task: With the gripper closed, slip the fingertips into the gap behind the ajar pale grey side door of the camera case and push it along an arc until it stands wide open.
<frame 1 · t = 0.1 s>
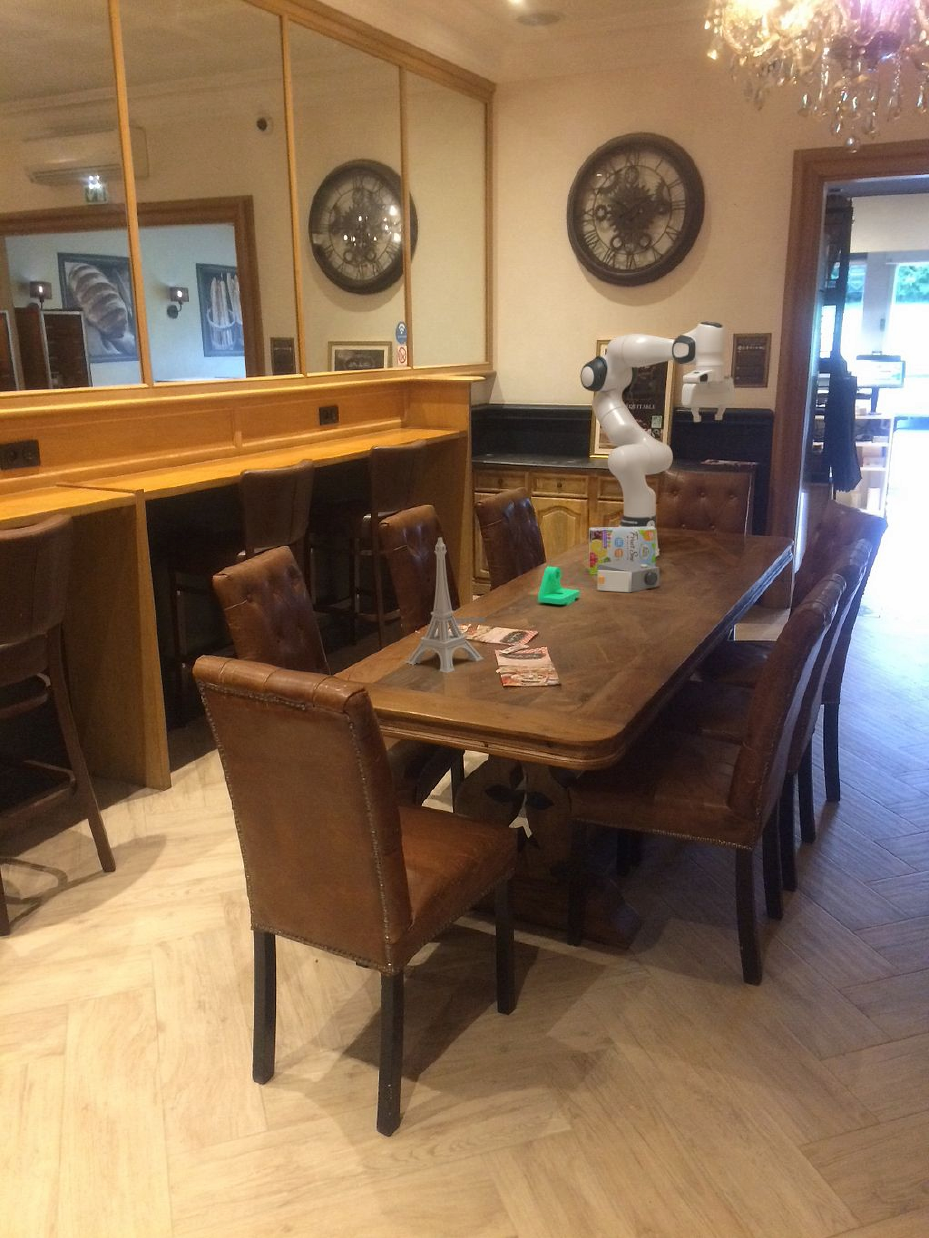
hand: (707, 420, 313), 48 cm above the table, tool pointing down, fingers open, 8 cm apart
snack box: (621, 573, 323), on the table
eiffel tower: (444, 662, 237), on the table
camera case: (627, 584, 307), on the table
camera mount: (559, 602, 289), on the table
side door: (614, 581, 298), point 3 cm above the table, hinge at 35.0°
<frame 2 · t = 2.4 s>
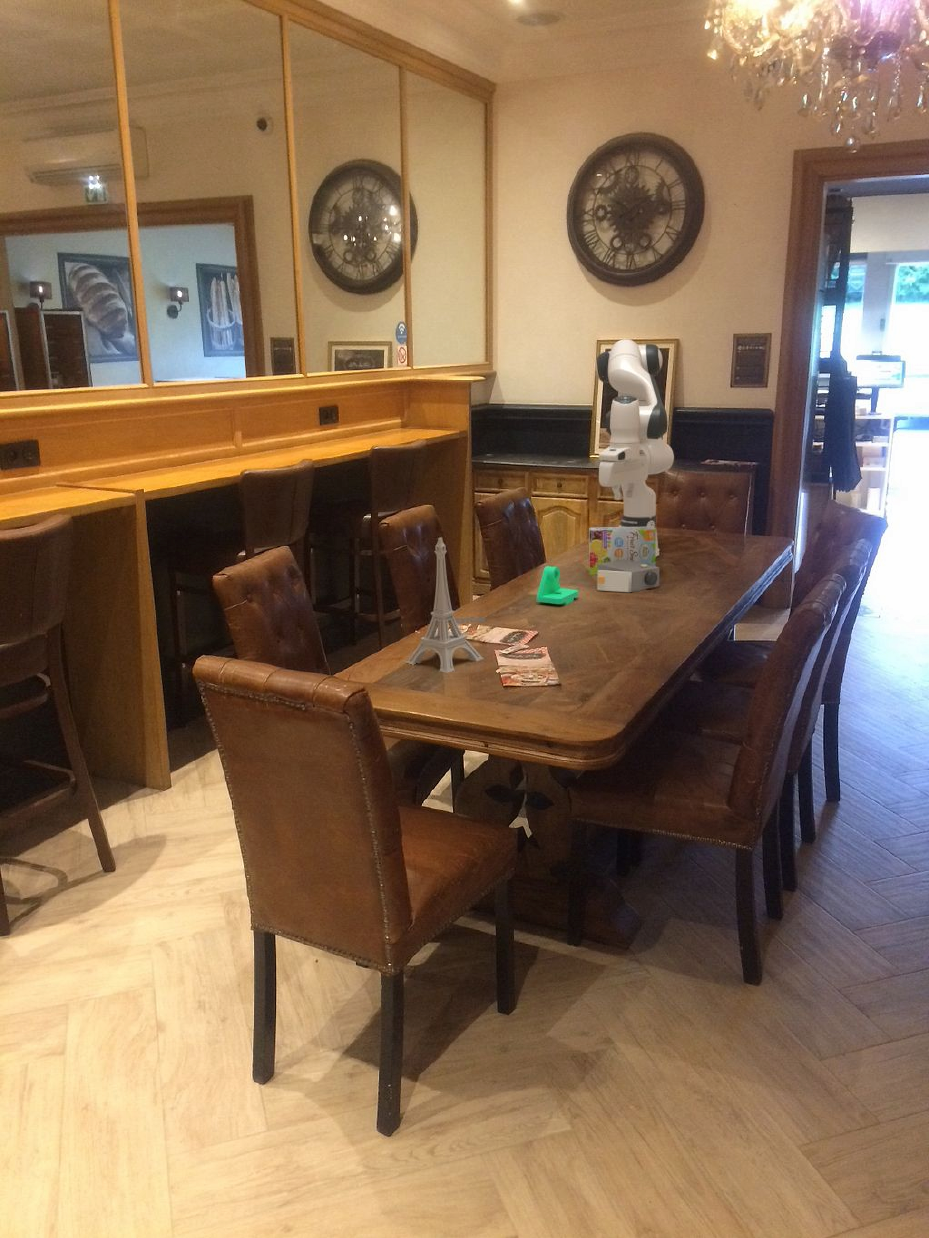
hand: (623, 498, 298), 27 cm above the table, tool pointing down, fingers open, 4 cm apart
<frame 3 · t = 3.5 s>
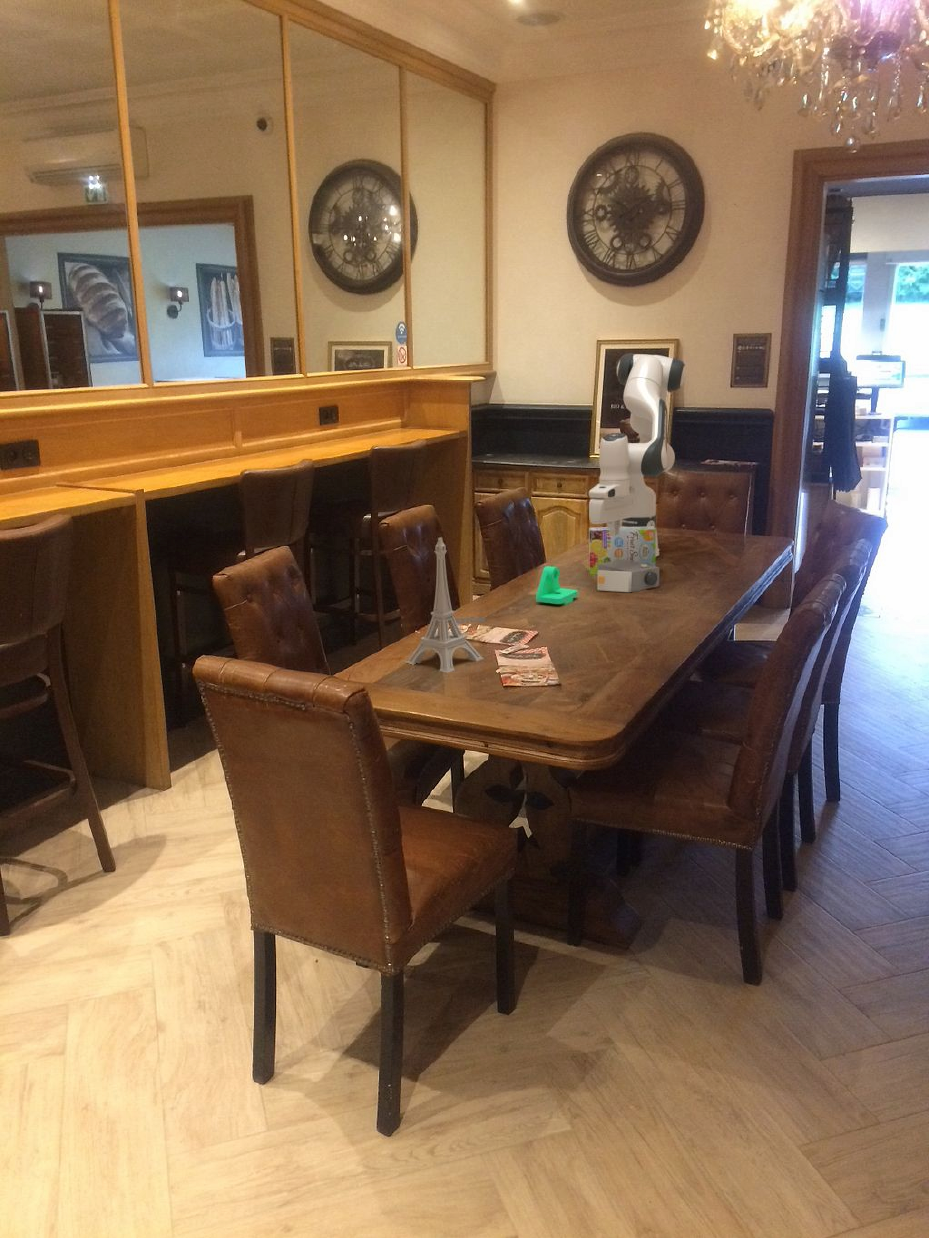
hand: (614, 535, 297), 17 cm above the table, tool pointing down, fingers closed
nothing on the table moved.
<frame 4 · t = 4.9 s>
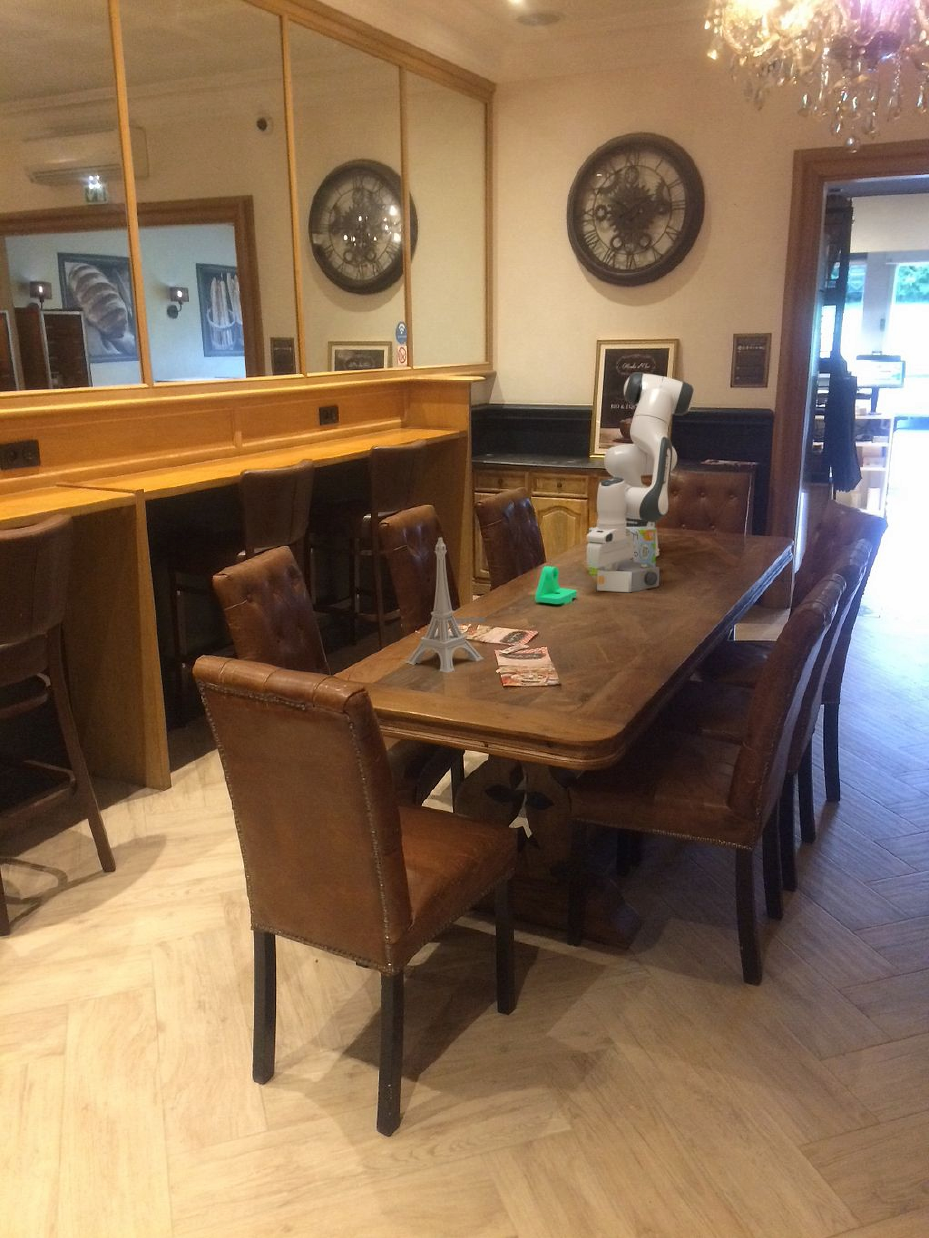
hand: (610, 577, 301), 4 cm above the table, tool pointing down, fingers closed
side door: (614, 581, 298), point 3 cm above the table, hinge at 36.2°, touching gripper
everything else where it was.
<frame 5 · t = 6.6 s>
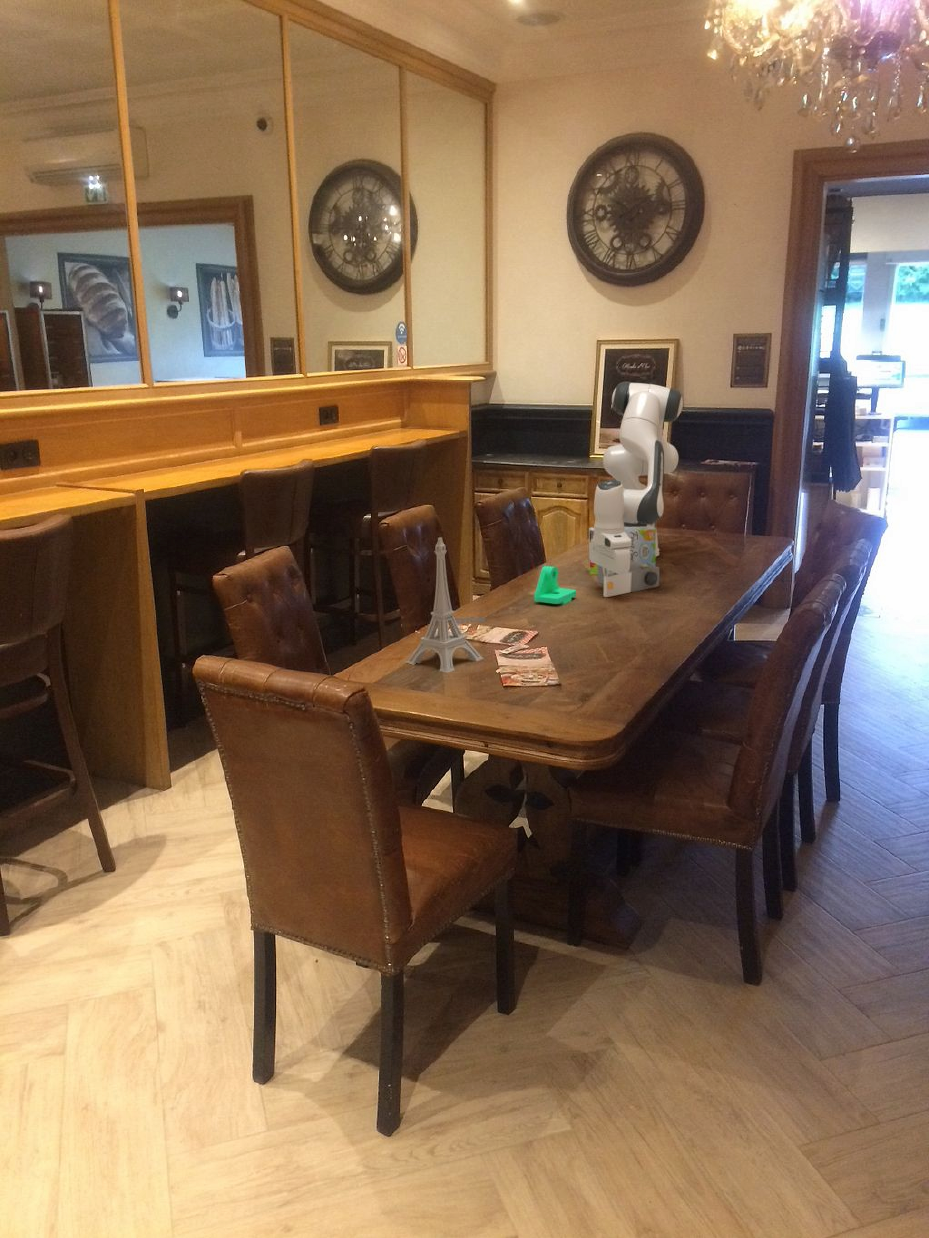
hand: (608, 582, 294), 4 cm above the table, tool pointing down, fingers closed
side door: (619, 584, 294), point 3 cm above the table, hinge at 90.5°, touching gripper
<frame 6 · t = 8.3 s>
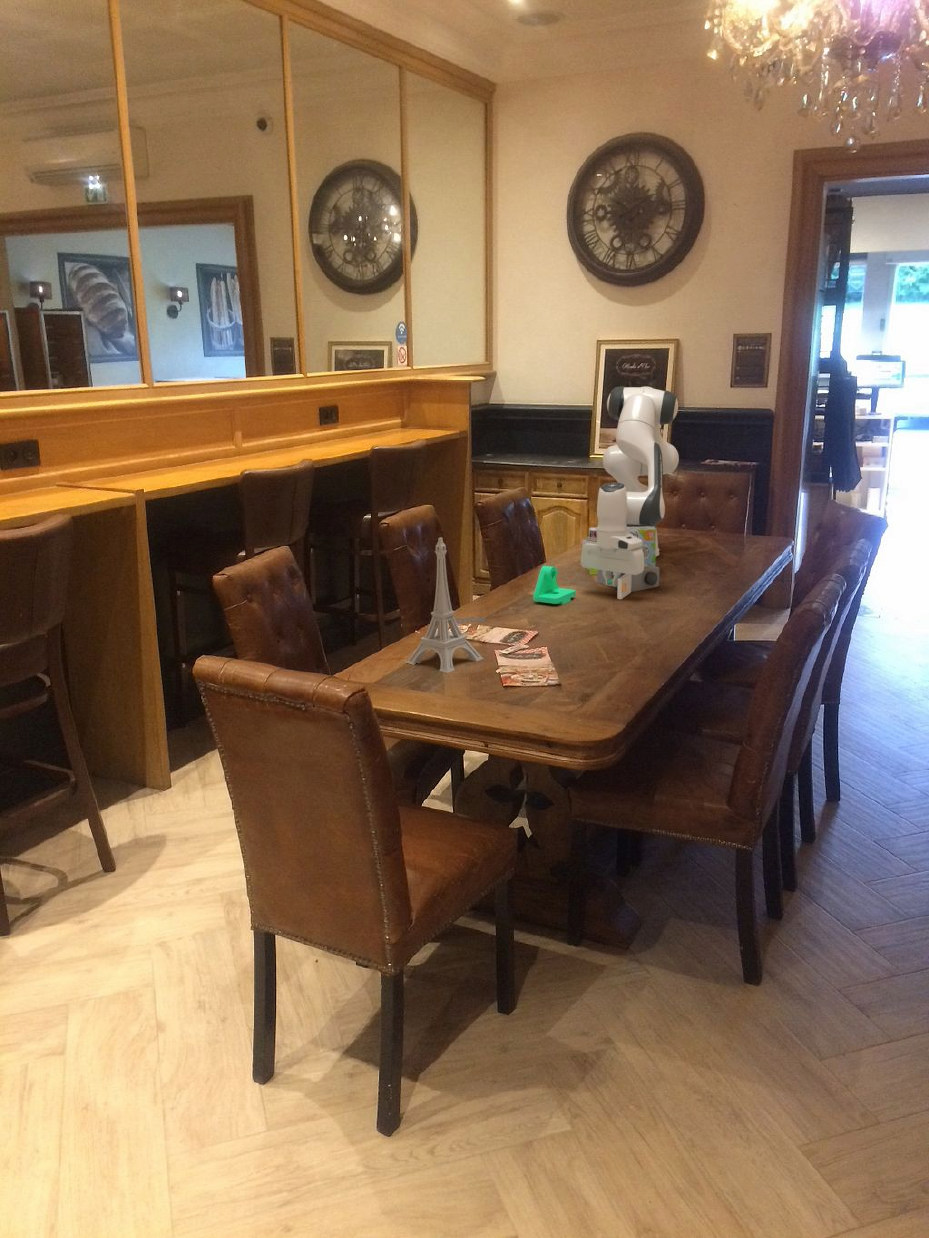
hand: (611, 585, 292), 3 cm above the table, tool pointing down, fingers closed
side door: (626, 585, 292), point 3 cm above the table, hinge at 120.5°
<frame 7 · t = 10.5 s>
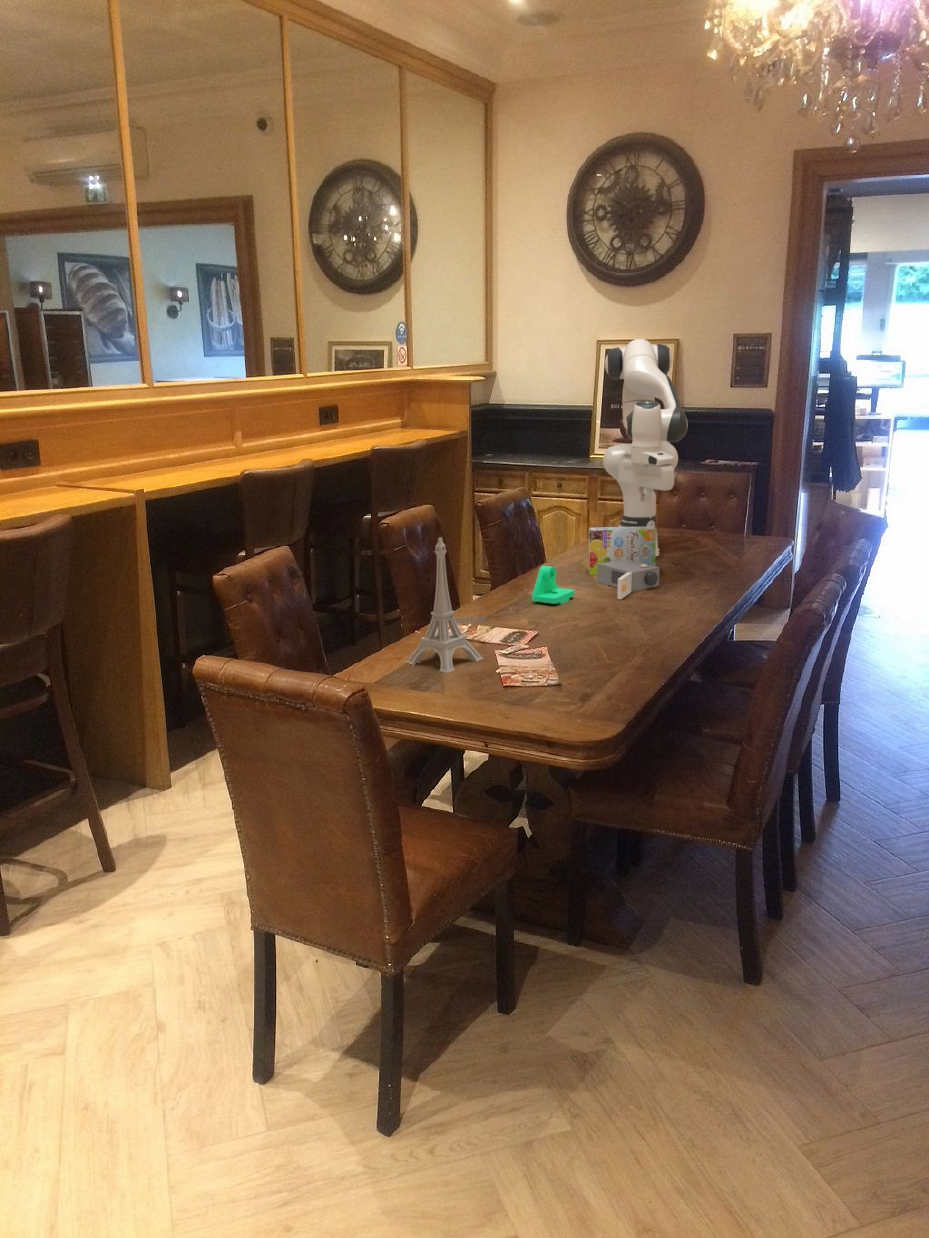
hand: (644, 501, 302), 26 cm above the table, tool pointing down, fingers closed
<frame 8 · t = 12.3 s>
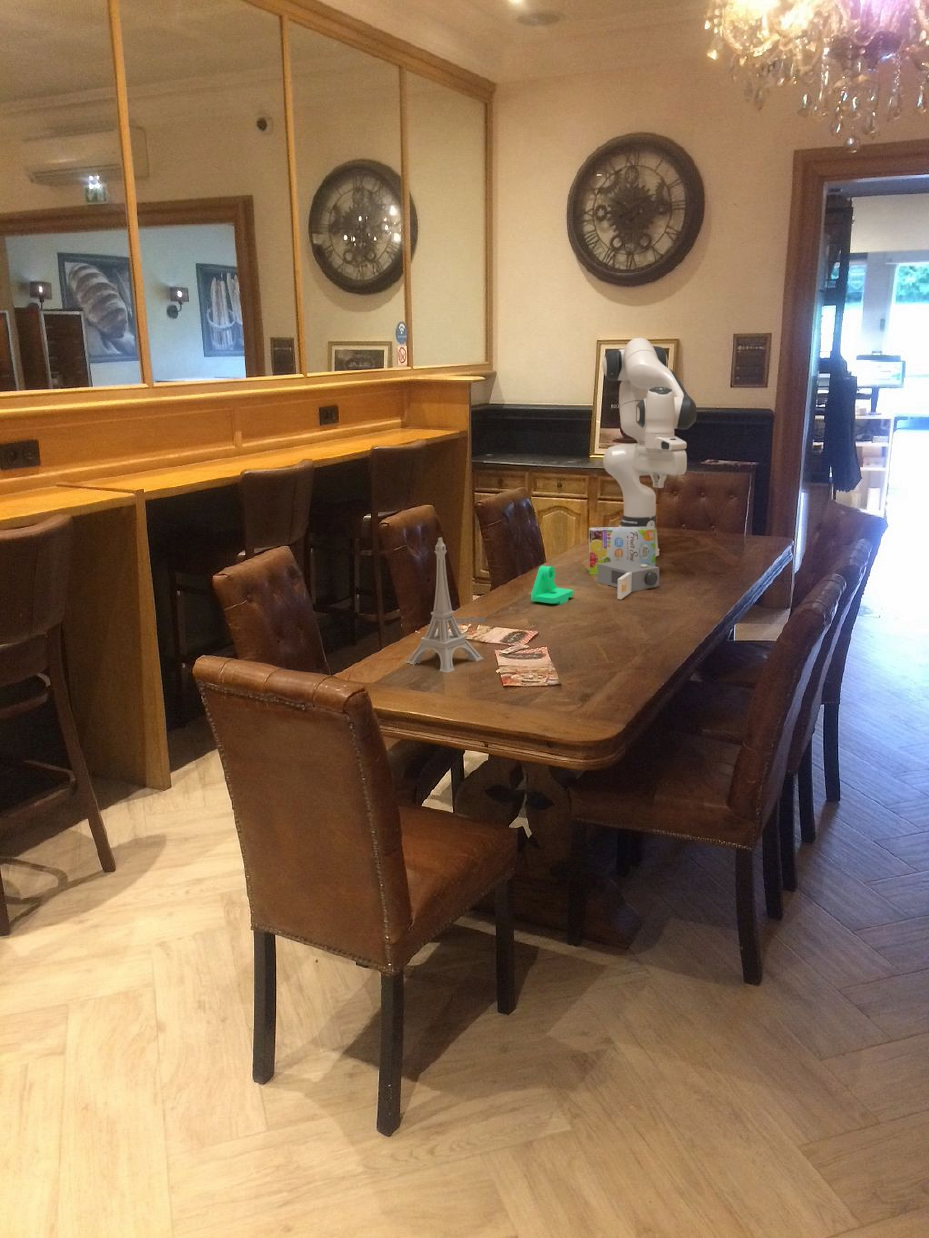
hand: (658, 487, 305), 29 cm above the table, tool pointing down, fingers closed
at the end: side door at +121° (first picture: +35°) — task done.
